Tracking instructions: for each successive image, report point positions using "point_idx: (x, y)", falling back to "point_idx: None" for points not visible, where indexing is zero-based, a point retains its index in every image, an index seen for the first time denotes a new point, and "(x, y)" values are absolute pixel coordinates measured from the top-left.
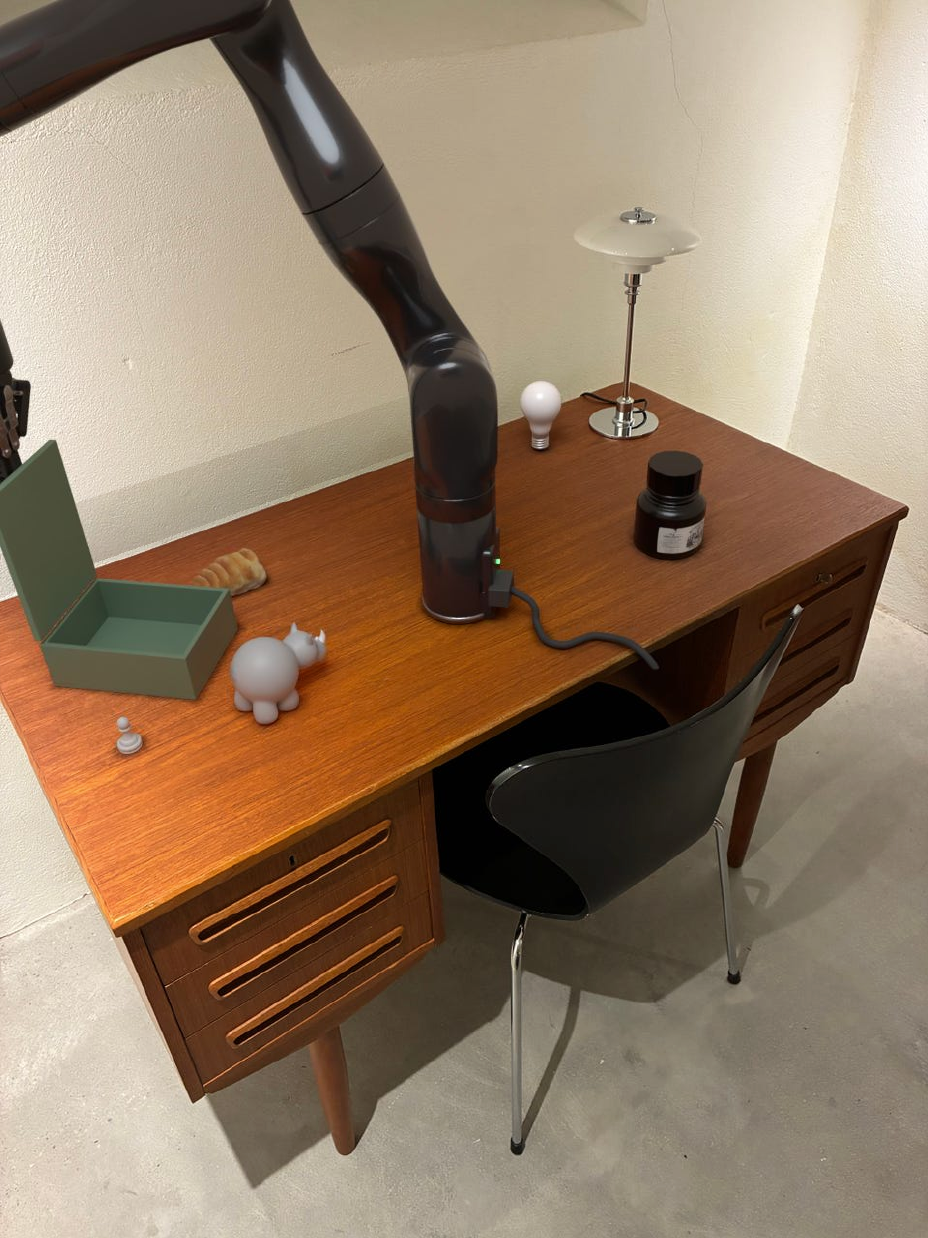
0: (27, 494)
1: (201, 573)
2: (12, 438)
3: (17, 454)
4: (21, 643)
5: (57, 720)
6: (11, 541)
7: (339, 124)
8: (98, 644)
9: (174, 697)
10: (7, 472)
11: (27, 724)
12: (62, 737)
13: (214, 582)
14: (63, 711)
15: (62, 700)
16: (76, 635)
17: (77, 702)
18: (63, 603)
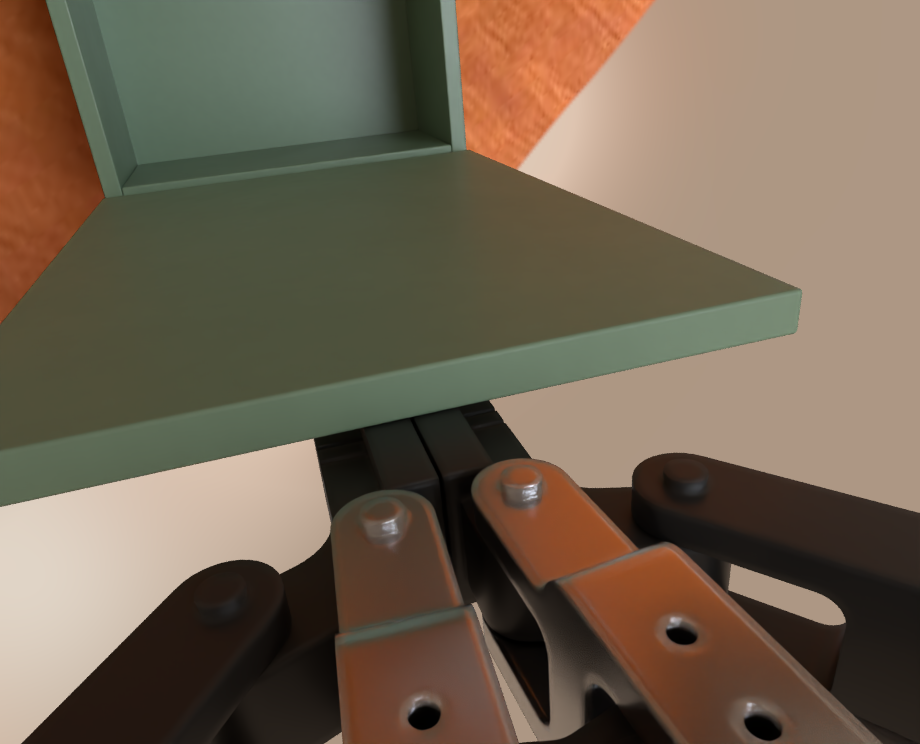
0: (423, 300)
1: None
2: (428, 557)
3: (387, 472)
4: None
5: (531, 54)
6: (595, 225)
7: None
8: (262, 115)
9: None
10: (496, 428)
11: (554, 119)
12: (579, 3)
13: None
14: (501, 58)
15: (468, 87)
16: (310, 151)
17: (466, 42)
18: (328, 173)
